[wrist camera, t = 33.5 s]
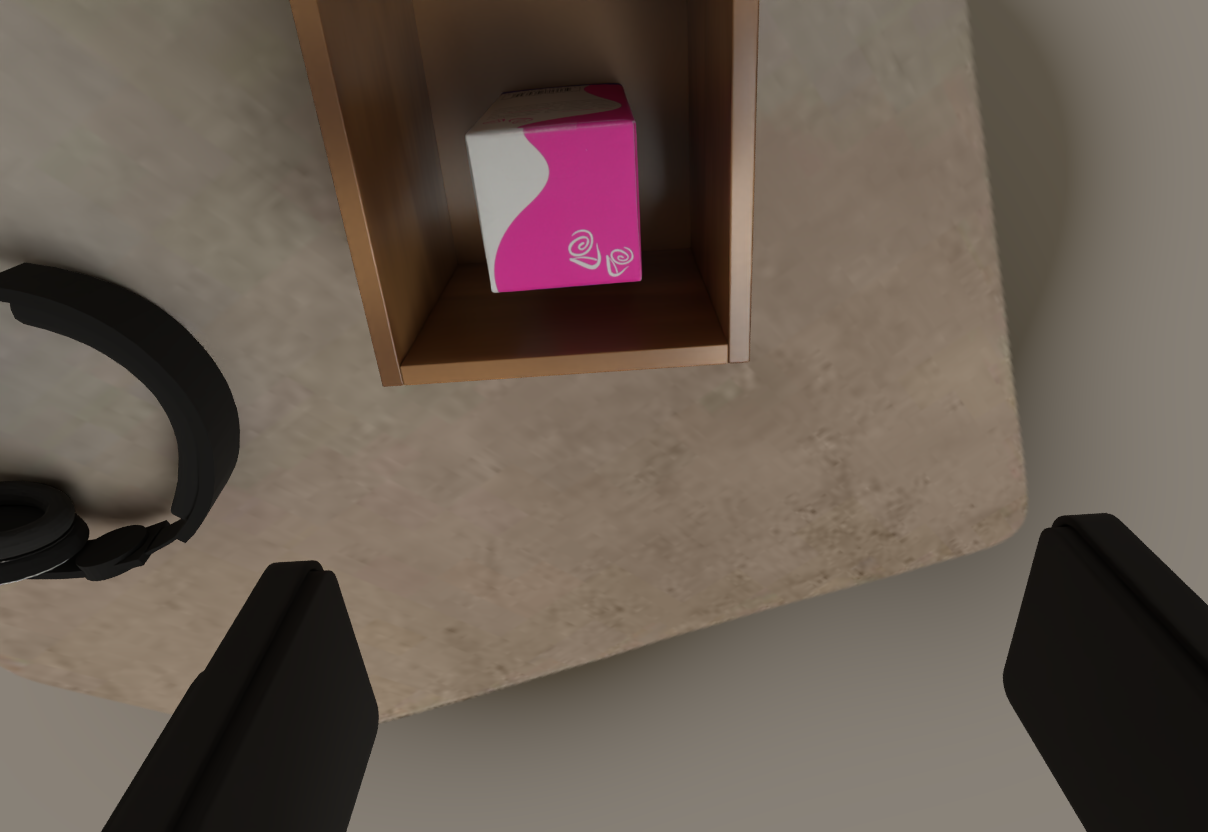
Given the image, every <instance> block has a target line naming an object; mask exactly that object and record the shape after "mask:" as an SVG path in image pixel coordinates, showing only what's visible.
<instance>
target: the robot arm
mask: <svg viewBox="0 0 1208 832" xmlns="http://www.w3.org/2000/svg"><path fill="white" fill-rule="evenodd" d="M1003 683H1004V688H1005V692H1006V695H1007V697H1008V699H1009V702H1010V704H1011V705H1012V707H1013V709H1014V710H1015V712H1016V713H1017V715H1018V717H1019V718H1020V720H1021V722H1022V724H1023V725H1024V727H1025V729H1026V730H1027V732H1028V733H1029V735H1030V737H1031V739H1032V741H1033V742H1034V744H1035V746H1036V747H1037V749H1038V751H1039V752H1040V754H1041V755H1042V757H1043V759H1044V761H1045V762H1046V764H1047V766H1048V767H1049V769H1050V771H1051V772H1052V774H1053V776H1054V777H1055V779H1056V781H1057V782H1058V784H1059V786H1060V788H1061V789H1062V791H1063V792H1064V794H1065V796H1066V798H1067V799H1068V801H1069V802H1070V804H1071V806H1072V807H1073V809H1074V811H1075V813H1076V814H1077V816H1078V818H1079V819H1080V821H1081V823H1082V824H1083V826H1084V828H1085V829H1086V831H1087V832H1208V605H1207V604H1206V603H1205V602H1204V601H1203V600H1202V599H1201V598H1200V597H1199V596H1198V595H1196V593H1195V592H1194V591H1193V590H1191V589H1190V588H1189V587H1188V586H1187V585H1186V584H1185V583H1184V582H1183V581H1182V580H1181V579H1180V578H1179V577H1178V576H1177V575H1176V574H1175V573H1174V572H1173V571H1172V570H1171V569H1170V568H1169V567H1168V566H1167V565H1166V564H1165V563H1164V562H1163V561H1161V560H1160V558H1159V557H1157V556H1156V555H1155V554H1154V553H1153V552H1152V551H1151V550H1150V549H1149V548H1148V547H1147V546H1146V545H1145V544H1144V543H1143V542H1142V541H1141V540H1140V539H1139V538H1138V537H1137V536H1136V535H1135V534H1134V533H1133V532H1132V531H1131V530H1129V529H1128V527H1126V526H1125V525H1124V524H1123V523H1122V522H1121V521H1120V520H1119V519H1118V518H1116V517H1115V516H1114V515H1111V514H1107V513H1099V514H1082V515H1067V516H1066V515H1065V516H1061V517H1058V518H1057V519H1056V520H1055V521H1054V523H1053V525H1052V527H1051V528H1046V529H1044V530H1043V531H1042V533H1041V535H1040V538H1039V542H1038V545H1037V549H1036V552H1035V557H1034V560H1033V563H1032V567H1031V571H1030V575H1029V578H1028V582H1027V586H1026V589H1025V593H1024V597H1023V601H1022V604H1021V608H1020V612H1019V616H1018V619H1017V623H1016V627H1015V630H1014V634H1013V638H1012V641H1011V645H1010V649H1009V653H1008V656H1007V660H1006V664H1005V668H1004V672H1003ZM378 720H379V714H378V706H377V702H376V699H375V696H374V693H373V690H372V687H371V684H370V681H369V678H368V674H367V671H366V668H365V665H364V662H363V659H362V656H361V653H360V650H359V646H358V643H357V640H356V637H355V634H354V631H353V628H352V625H351V622H350V618H349V615H348V612H347V609H346V606H345V603H344V600H343V597H342V594H341V590H340V587H339V584H338V581H337V578H336V576H335V574H334V573H333V572H332V571H329V570H327V571H324V570H323V568H322V566H321V564H320V563H319V562H318V561H314V560H311V561H295V562H278V563H272V564H270V565H269V566H268V567H267V568H266V570H265V571H264V573H263V574H262V576H261V578H260V579H259V581H258V583H257V584H256V586H255V587H254V589H253V591H252V592H251V594H250V596H249V597H248V599H247V601H246V602H245V604H244V606H243V607H242V609H241V611H240V612H239V614H238V616H237V617H236V619H235V621H234V622H233V624H232V626H231V627H230V629H229V630H228V632H227V634H226V635H225V637H224V639H223V640H222V642H221V644H220V645H219V647H218V649H217V650H216V652H215V654H214V655H213V657H212V659H211V660H210V662H209V664H208V665H207V667H206V669H205V670H204V671H203V672H201V673H200V674H199V675H198V676H197V678H196V679H195V680H194V682H193V683H192V684H191V686H190V687H189V689H188V690H187V692H186V694H185V695H184V697H183V699H182V700H181V702H180V704H179V705H178V707H177V708H176V710H175V712H174V713H173V715H172V717H171V718H170V720H169V722H168V723H167V725H166V727H165V728H164V730H163V732H162V733H161V735H160V736H159V738H158V740H157V741H156V743H155V744H154V746H153V748H152V749H151V751H150V753H149V754H148V756H147V758H146V759H145V761H144V762H143V764H142V766H141V767H140V769H139V771H138V772H137V774H136V776H135V777H134V779H133V780H132V782H131V784H130V786H129V787H128V789H127V790H126V792H125V793H124V795H123V797H122V799H121V800H120V802H119V803H118V805H117V807H116V808H115V810H114V811H113V813H112V815H111V816H110V818H109V820H108V821H107V823H106V825H105V826H104V828H103V829H102V831H101V832H346V831H347V827H348V824H349V821H350V818H351V814H352V811H353V808H354V805H355V802H356V799H357V795H358V792H359V789H360V786H361V782H362V779H363V776H364V773H365V770H366V766H367V763H368V760H369V757H370V754H371V750H372V747H373V744H374V741H375V737H376V734H377V729H378Z"/></svg>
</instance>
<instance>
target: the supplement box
mask: <svg viewBox="0 0 1208 832" xmlns="http://www.w3.org/2000/svg"><path fill="white" fill-rule="evenodd" d="M465 143H466V149H467V155H468V161H469V167H470V172H471V178H472V184H473V189H474V195H475V201H476V206H477V211H478V217H479V223H480V228H481V234H482V239H483V245H484V250H485V256H486V261H487V266H488V272H489V278H490V283H491V291H492V292H494V293H499V292H512V291H525V290H537V289H549V288H562V287H573V286H587V285H598V284H610V283H622V282H636V281H641V279H642V261H641V235H640V209H639V182H638V157H637V134H636V122H635V119H634V117H633V114H632V111H631V108H630V105H629V103H628V100H627V97H626V95H625V91H624V88H623V86H622V85H621V84H619V83H602V84H586V85H574V86H562V87H550V88H539V89H529V90H520V91H511V92H503V93H501V96H499V98H498V99H497V100H496V101H495V102H494V103H493V104H492V106H491V107H490V108H489V109H488V110H487V111H486V112H485V114H484V115H483V116H482V117H481V118H480V119H479V120H478V121H477V122H476V124H475V125H474V126H473V127H472V128H471V129H470V130H469V131H468V132H467V133H466V135H465Z"/></svg>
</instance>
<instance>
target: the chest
mask: <svg viewBox="0 0 1208 832" xmlns="http://www.w3.org/2000/svg"><path fill="white" fill-rule="evenodd" d="M289 1H290V5H291V9H292V13H293V17H294V21H295V25H296V30H297V34H298V38H299V42H300V46H301V50H302V54H303V58H304V63H305V67H306V71H307V75H308V79H309V83H310V87H311V92H312V96H313V100H314V104H315V108H316V112H317V116H318V120H319V125H320V129H321V133H322V137H323V141H324V145H325V149H326V153H327V158H328V162H329V166H330V170H331V174H332V178H333V182H334V187H335V191H336V195H337V199H338V203H339V207H340V211H341V215H342V220H343V224H344V228H345V232H346V236H347V240H348V244H349V248H350V253H351V257H352V261H353V265H354V269H355V273H356V277H357V282H358V286H359V290H360V294H361V298H362V302H363V306H364V310H365V315H366V319H367V323H368V327H369V331H370V335H371V339H372V343H373V348H374V352H375V356H376V360H377V364H378V368H379V372H380V376H381V381H382V385H383V386H384V387H386V386H401V385H417V384H432V383H447V382H462V381H477V380H492V379H507V378H522V377H537V376H551V375H566V374H581V373H596V372H611V371H626V370H641V369H656V368H671V367H686V366H701V365H716V364H727V363H744V362H749V361H750V330H751V292H752V254H753V217H754V179H755V141H756V103H757V65H758V27H759V0H289ZM602 83H619V84H621V85H622V86H623V88H624V91H625V95H626V97H627V100H628V103H629V105H630V108H631V111H632V114H633V117H634V119H635V122H636V134H637V157H638V182H639V209H640V235H641V261H642V279H641V281H636V282H622V283H610V284H598V285H587V286H573V287H562V288H549V289H537V290H525V291H512V292H499V293H494V292H492V291H491V283H490V278H489V272H488V266H487V261H486V256H485V250H484V245H483V239H482V234H481V228H480V223H479V217H478V211H477V206H476V201H475V195H474V189H473V184H472V178H471V172H470V167H469V161H468V155H467V149H466V143H465V135H466V133H467V132H468V131H469V130H470V129H471V128H472V127H473V126H474V125H475V124H476V122H477V121H478V120H479V119H480V118H481V117H482V116H483V115H484V114H485V112H486V111H487V110H488V109H489V108H490V107H491V106H492V104H493V103H494V102H495V101H496V100H497V99H498V98H499V96H501V93H503V92H511V91H520V90H529V89H539V88H550V87H562V86H574V85H586V84H602Z"/></svg>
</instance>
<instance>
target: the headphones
mask: <svg viewBox="0 0 1208 832" xmlns="http://www.w3.org/2000/svg"><path fill="white" fill-rule="evenodd" d="M0 301H2V302H8V303H10V307H11V311H12V313H13V315H14V317H15V319H17V320H18V321H20V322H22V323H23V324H27V325H30V326H34V327H38V328H42V329H45V330H49V331H52V332H55V333H58V334H61V335H64V336H67V337H70V338H72V339H74V340H77V341H79V342H81V343H84V344H86V345H89V346H91V347H93V348H94V349H96V350H98V351H100V352H101V353H103V354H105V355H107V356H108V357H110V358H111V359H113V360H114V361H116V362H117V363H119V364H120V365H122V366H123V367H125V368H126V369H127V370H128V371H130V372H131V373H132V374H133V375H134V376H135V377H136V378H138V379H139V380H140V381H141V382H142V383H143V384H144V385H145V386H146V387H147V388H148V389H149V390H150V391H151V392H152V393H153V394H154V396H155V397H156V398H157V399H158V401H159V403H160V404H161V406H162V407H163V409H164V411H165V412H166V414H167V416H168V418H169V420H170V422H171V425H172V427H173V429H174V433H175V436H176V440H177V444H178V453H179V464H178V482H177V487H176V491H175V496H174V499H173V503H172V506H171V513H172V514H173V515H175V516H177V517H179V518H181V519H180V520H178V521H176V522H175V523H173V524H171V525H170V523H169V522H168V521H167V520H166V521H163V522H160V523H157V524H155V525H152V526H149V527H146V528H145V527H144V526H142V525H130V526H125V527H122V528H119V529H116V530H113V531H111V532H108V533H106V534H104V535H102V536H101V537H99V538H97V539H94V540H88V538H89V528H88V526H87V524H86V523H85V522H84V520H83V519H82V518H80V517H79V516H78V515H77V514H76V513H75V508H74V505H73V502H72V501H71V499H70V498H69V497H68V496H67V495H66V494H64V493H63V492H61V491H59V490H57V489H56V488H53V487H50V486H47V485H44V484H39V483H33V482H22V481H5V482H0V585H3V584H8V583H13V582H17V581H20V580H24V579H69V578H84V577H85V578H86V579H87V580H90V581H101V580H106V579H109V578H113V577H115V576H118V575H120V574H122V573H124V572H127V571H128V570H130V569H132V568H135V567H138V566H142V565H144V564H145V562H146V561H147V560H148V558H149V557H150V555H151V554H152V553H154V552H156V551H157V550H159V549H161V548H163V547H165V546H167V545H168V544H170V543H172V542H173V541H174V540H176V539H178V540H180V541H182V542H184V543H186V542H187V541H188V540H189V539H190V538H191V537H192V536H193V535H194V534H195V532H196V531H197V529H198V528H199V527H200V525H201V524H202V522H203V521H204V519H205V517H206V516H207V514H208V512H209V511H210V509H211V507H212V506H213V504H214V503H215V501H216V499H217V498H218V496H219V494H220V493H221V491H222V490H223V488H224V486H225V485H226V483H227V481H228V479H229V477H230V475H231V473H232V471H233V469H234V468H235V465H236V462H237V458H238V453H239V439H240V429H239V418H238V413H237V408H236V405H235V402H234V399H233V396H232V393H231V391H230V389H229V387H228V384H227V382H226V380H225V379H224V377H223V375H222V373H221V372H220V370H219V369H218V367H217V366H216V364H215V363H214V361H213V360H212V358H211V357H210V356H209V355H208V353H207V352H206V351H205V350H204V348H203V347H202V346H201V345H200V344H199V343H198V342H197V341H196V340H195V339H194V337H193V336H192V335H191V334H190V333H189V332H188V331H187V330H186V329H185V328H184V327H182V326H181V325H180V324H179V323H178V322H177V321H175V320H174V319H173V318H172V317H171V316H169V315H168V314H167V313H165V312H164V311H162V310H161V309H160V308H158V307H157V306H155V305H153V304H152V303H150V302H148V301H147V300H145V299H143V298H142V297H140V296H138V295H136V294H134V293H132V292H130V291H128V290H126V289H124V288H121V287H119V286H117V285H114V284H112V283H109V282H106V281H103V280H100V279H97V278H94V277H91V276H89V275H84V274H80V273H76V272H72V271H68V270H64V269H60V268H56V267H50V266H44V265H37V264H31V263H22V264H20V265H18V266H15V267H13V268H10V269H8V270H5V271H3V272H0Z"/></svg>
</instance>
